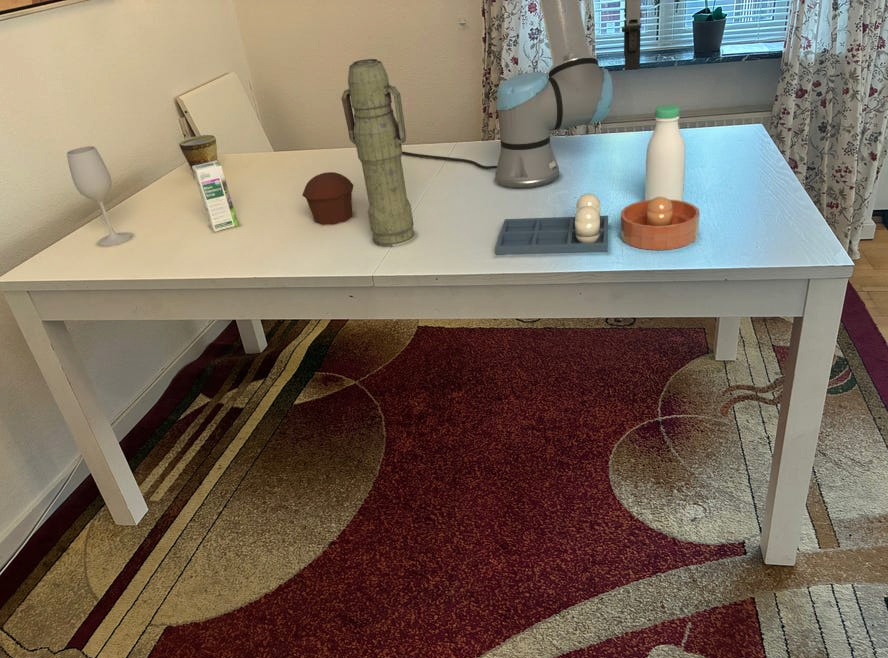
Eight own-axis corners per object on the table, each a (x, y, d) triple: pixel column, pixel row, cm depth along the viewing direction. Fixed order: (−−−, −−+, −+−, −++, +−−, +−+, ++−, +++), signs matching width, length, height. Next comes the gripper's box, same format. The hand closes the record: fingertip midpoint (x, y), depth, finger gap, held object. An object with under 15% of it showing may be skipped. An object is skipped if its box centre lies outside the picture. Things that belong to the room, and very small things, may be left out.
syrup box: (214, 232, 168) (195, 170, 161) (209, 225, 173) (191, 164, 165) (239, 226, 170) (221, 164, 163) (233, 219, 175) (216, 158, 167)
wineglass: (110, 248, 167) (75, 156, 156) (91, 243, 171) (55, 154, 160) (138, 235, 172) (106, 146, 161) (118, 231, 176) (86, 144, 165)
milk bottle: (683, 211, 150) (689, 111, 139) (644, 212, 152) (647, 113, 141) (681, 198, 156) (687, 101, 146) (644, 199, 158) (647, 103, 147)
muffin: (340, 205, 175) (332, 163, 170) (368, 213, 168) (361, 171, 163) (298, 221, 169) (289, 179, 163) (326, 231, 162) (317, 187, 156)
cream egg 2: (570, 243, 141) (569, 206, 137) (591, 237, 142) (590, 200, 139) (584, 251, 137) (583, 213, 133) (604, 245, 139) (604, 207, 135)
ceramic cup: (232, 170, 210) (222, 135, 205) (205, 182, 204) (194, 146, 198) (202, 167, 217) (192, 133, 212) (175, 178, 210) (164, 143, 205)
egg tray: (505, 228, 152) (504, 219, 151) (608, 224, 148) (608, 215, 147) (496, 256, 140) (495, 247, 139) (607, 253, 136) (607, 243, 135)
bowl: (606, 235, 144) (606, 210, 141) (665, 217, 148) (666, 193, 145) (651, 259, 132) (652, 233, 130) (713, 239, 137) (715, 213, 134)
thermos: (374, 230, 159) (343, 59, 141) (426, 229, 156) (402, 54, 138) (360, 246, 152) (326, 68, 134) (414, 246, 149) (387, 64, 131)
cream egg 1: (572, 230, 147) (571, 193, 143) (592, 224, 148) (591, 188, 144) (585, 237, 143) (584, 200, 139) (605, 231, 144) (605, 194, 140)
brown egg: (641, 234, 141) (642, 196, 137) (661, 228, 142) (662, 191, 138) (656, 241, 137) (658, 203, 133) (676, 235, 139) (678, 197, 135)
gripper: (658, -64, 119) (654, 74, 130) (652, -71, 140) (649, 48, 151) (611, -59, 120) (611, 77, 132) (612, -67, 141) (611, 51, 152)
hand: (631, 61), depth 141 cm, fingers open, 13 cm apart
